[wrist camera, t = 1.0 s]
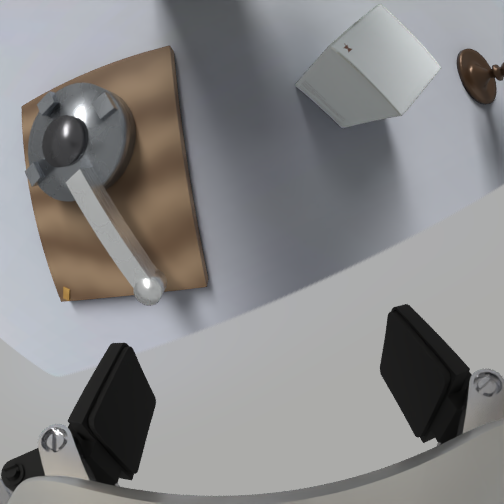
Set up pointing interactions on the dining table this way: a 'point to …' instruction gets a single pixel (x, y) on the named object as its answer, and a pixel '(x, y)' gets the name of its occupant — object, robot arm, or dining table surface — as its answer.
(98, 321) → the dining table surface
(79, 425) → the robot arm
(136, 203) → the wooden base
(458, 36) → the dining table surface
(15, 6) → the dining table surface
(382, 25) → the supplement box
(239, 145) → the dining table surface
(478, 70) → the candlestick
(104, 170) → the faucet lever handle
